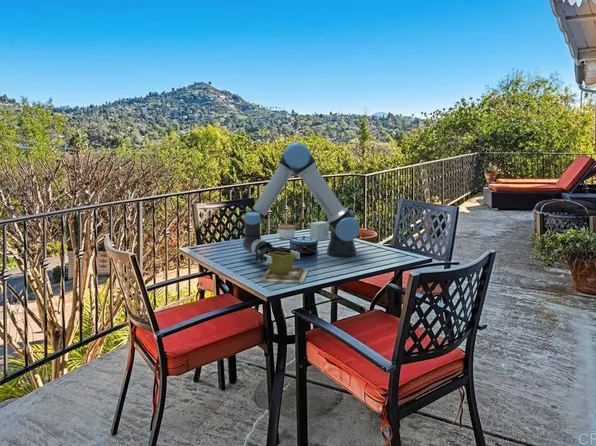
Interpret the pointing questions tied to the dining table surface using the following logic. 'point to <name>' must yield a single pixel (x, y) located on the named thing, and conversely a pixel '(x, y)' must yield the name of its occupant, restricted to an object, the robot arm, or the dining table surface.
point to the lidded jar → (286, 231)
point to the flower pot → (281, 262)
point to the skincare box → (319, 230)
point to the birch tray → (285, 276)
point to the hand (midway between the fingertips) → (285, 258)
